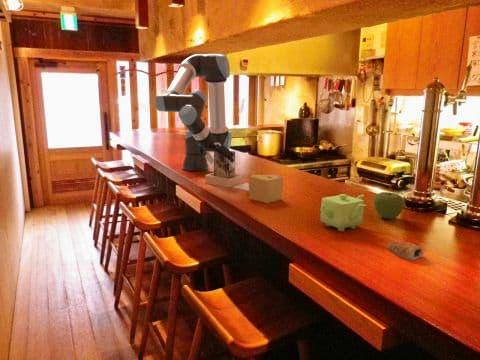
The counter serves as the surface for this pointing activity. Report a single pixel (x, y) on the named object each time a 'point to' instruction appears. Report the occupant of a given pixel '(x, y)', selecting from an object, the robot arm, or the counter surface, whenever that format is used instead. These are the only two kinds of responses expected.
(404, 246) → the grey tapered shell
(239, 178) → the tray
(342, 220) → the kettle
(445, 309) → the counter surface
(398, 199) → the apple
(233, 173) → the coffee box
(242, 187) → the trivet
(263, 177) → the cheese
